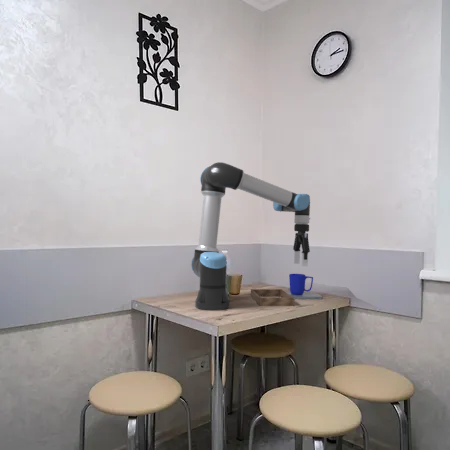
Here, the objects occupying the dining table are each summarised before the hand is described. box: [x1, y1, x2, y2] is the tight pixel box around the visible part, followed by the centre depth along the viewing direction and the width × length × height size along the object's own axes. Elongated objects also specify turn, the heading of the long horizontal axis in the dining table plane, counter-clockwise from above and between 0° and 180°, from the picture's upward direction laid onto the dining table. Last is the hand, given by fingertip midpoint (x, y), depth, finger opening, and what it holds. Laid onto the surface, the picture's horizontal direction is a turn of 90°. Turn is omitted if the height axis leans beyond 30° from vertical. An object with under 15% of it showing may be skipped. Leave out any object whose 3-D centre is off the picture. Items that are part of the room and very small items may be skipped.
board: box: [285, 291, 323, 300], centre depth 187 cm, size 18×14×1 cm
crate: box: [250, 288, 295, 307], centre depth 174 cm, size 16×23×4 cm
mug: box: [288, 273, 314, 295], centre depth 186 cm, size 8×12×10 cm
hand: (300, 264), depth 187 cm, fingers open, 13 cm apart
